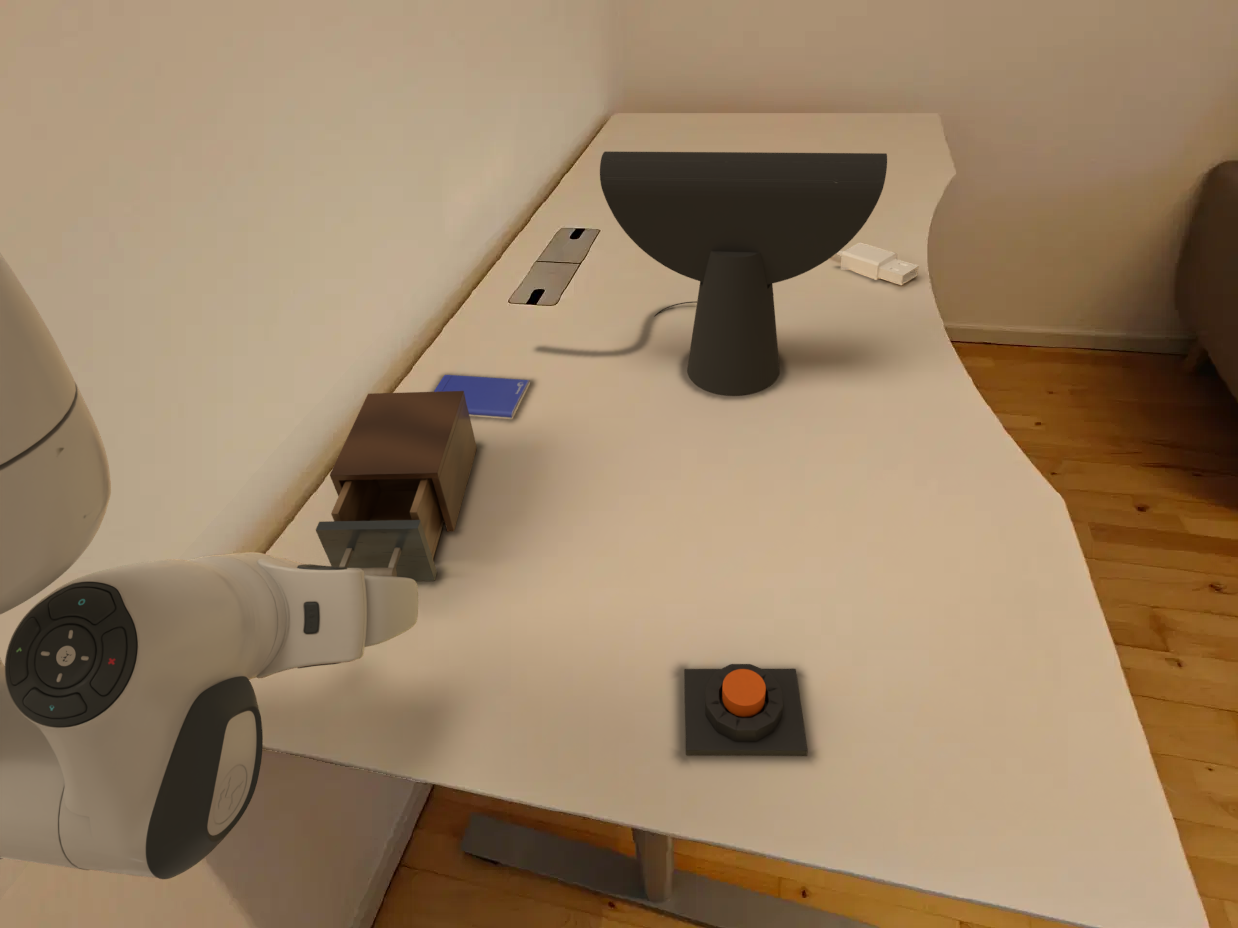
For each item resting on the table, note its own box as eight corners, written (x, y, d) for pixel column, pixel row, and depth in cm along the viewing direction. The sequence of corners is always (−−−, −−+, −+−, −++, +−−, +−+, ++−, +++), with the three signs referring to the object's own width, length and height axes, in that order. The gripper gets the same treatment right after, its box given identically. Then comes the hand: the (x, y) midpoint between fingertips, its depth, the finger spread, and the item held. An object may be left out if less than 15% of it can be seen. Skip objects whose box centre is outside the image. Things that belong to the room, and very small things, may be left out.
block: (805, 761, 68) (809, 738, 65) (686, 760, 68) (685, 738, 66) (794, 679, 74) (797, 656, 71) (684, 679, 74) (683, 656, 72)
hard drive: (529, 378, 110) (445, 372, 113) (511, 414, 104) (422, 407, 107) (531, 387, 111) (447, 382, 114) (513, 424, 105) (425, 417, 108)
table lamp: (572, 452, 100) (541, 222, 81) (536, 337, 121) (505, 133, 102) (870, 391, 106) (909, 162, 86) (787, 291, 127) (803, 89, 107)
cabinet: (455, 536, 91) (437, 472, 84) (354, 538, 91) (329, 475, 85) (478, 452, 102) (463, 390, 95) (388, 455, 102) (367, 393, 96)
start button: (766, 717, 68) (767, 705, 66) (723, 717, 68) (723, 705, 67) (762, 680, 70) (763, 668, 69) (721, 680, 71) (721, 668, 69)
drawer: (425, 611, 81) (407, 559, 76) (325, 612, 82) (301, 560, 77) (459, 492, 95) (445, 441, 90) (373, 494, 96) (354, 443, 90)
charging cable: (760, 228, 146) (760, 210, 144) (918, 279, 126) (921, 259, 124) (741, 237, 144) (741, 219, 142) (898, 291, 124) (901, 271, 122)
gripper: (96, 662, 57) (210, 633, 71) (378, 661, 55) (439, 632, 69) (98, 572, 57) (211, 561, 71) (378, 569, 56) (439, 558, 70)
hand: (325, 596), depth 70 cm, fingers closed
